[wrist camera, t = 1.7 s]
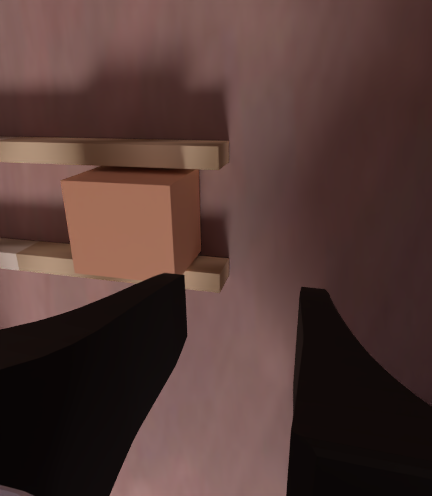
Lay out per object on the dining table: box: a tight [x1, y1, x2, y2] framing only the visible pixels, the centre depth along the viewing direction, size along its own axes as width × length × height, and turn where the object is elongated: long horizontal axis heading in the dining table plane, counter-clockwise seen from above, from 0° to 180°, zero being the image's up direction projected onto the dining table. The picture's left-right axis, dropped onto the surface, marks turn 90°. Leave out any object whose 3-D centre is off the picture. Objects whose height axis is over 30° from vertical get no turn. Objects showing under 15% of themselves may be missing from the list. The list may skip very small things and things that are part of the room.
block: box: [61, 166, 201, 281], centre depth 20 cm, size 5×4×4 cm
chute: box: [0, 136, 229, 293], centre depth 21 cm, size 18×7×3 cm, turn 92°
